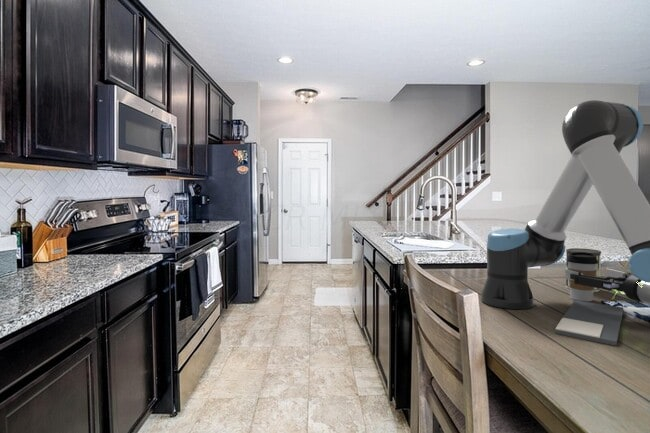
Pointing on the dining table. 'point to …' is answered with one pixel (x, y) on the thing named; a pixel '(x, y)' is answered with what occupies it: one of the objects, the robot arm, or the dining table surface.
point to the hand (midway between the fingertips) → (586, 273)
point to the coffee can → (587, 252)
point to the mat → (591, 322)
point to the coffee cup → (587, 267)
